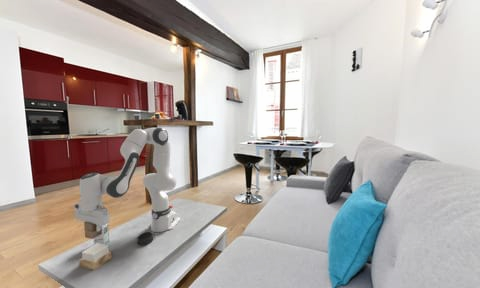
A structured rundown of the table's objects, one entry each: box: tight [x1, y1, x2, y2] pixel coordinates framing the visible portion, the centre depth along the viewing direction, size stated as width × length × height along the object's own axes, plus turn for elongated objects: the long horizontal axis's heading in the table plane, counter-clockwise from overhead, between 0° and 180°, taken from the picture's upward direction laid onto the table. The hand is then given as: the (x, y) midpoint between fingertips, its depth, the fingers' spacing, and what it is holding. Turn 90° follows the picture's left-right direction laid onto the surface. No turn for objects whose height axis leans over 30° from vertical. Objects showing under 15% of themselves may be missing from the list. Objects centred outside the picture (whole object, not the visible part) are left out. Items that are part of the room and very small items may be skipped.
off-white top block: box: [81, 243, 110, 262], centre depth 102 cm, size 8×8×4 cm
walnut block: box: [83, 221, 102, 240], centre depth 100 cm, size 5×5×8 cm
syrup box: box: [93, 223, 110, 245], centre depth 117 cm, size 6×6×14 cm
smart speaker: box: [137, 231, 154, 246], centre depth 121 cm, size 9×9×4 cm
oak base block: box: [78, 250, 113, 271], centre depth 103 cm, size 10×10×4 cm
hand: (93, 229), depth 100 cm, fingers closed on walnut block, 5 cm apart
